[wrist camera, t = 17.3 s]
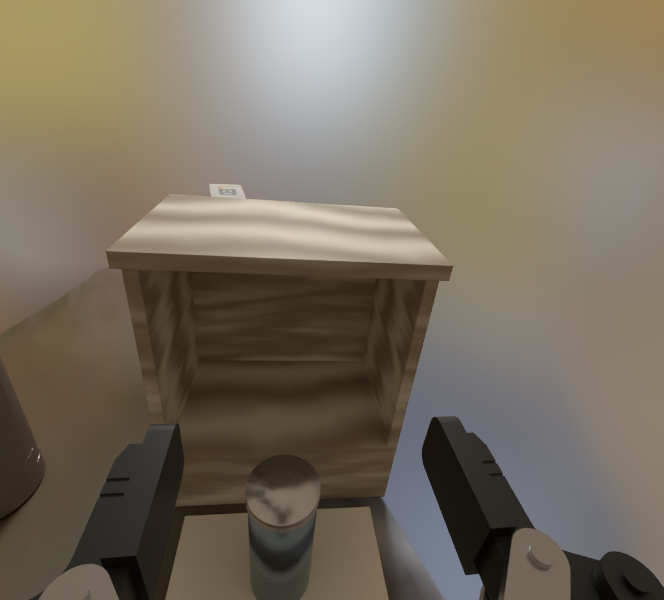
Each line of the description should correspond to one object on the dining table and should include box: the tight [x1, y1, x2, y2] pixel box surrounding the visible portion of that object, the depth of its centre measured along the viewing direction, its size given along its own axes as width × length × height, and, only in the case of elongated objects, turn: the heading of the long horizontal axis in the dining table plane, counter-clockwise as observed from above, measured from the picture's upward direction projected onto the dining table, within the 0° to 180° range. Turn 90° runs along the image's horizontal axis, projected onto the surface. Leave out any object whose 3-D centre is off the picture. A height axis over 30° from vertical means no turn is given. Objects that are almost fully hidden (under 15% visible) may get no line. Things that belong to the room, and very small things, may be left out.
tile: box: [165, 507, 389, 600], centre depth 32 cm, size 11×18×1 cm, turn 96°
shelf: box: [106, 194, 453, 507], centre depth 38 cm, size 15×23×27 cm, turn 96°
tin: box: [245, 455, 321, 600], centre depth 29 cm, size 5×5×12 cm
